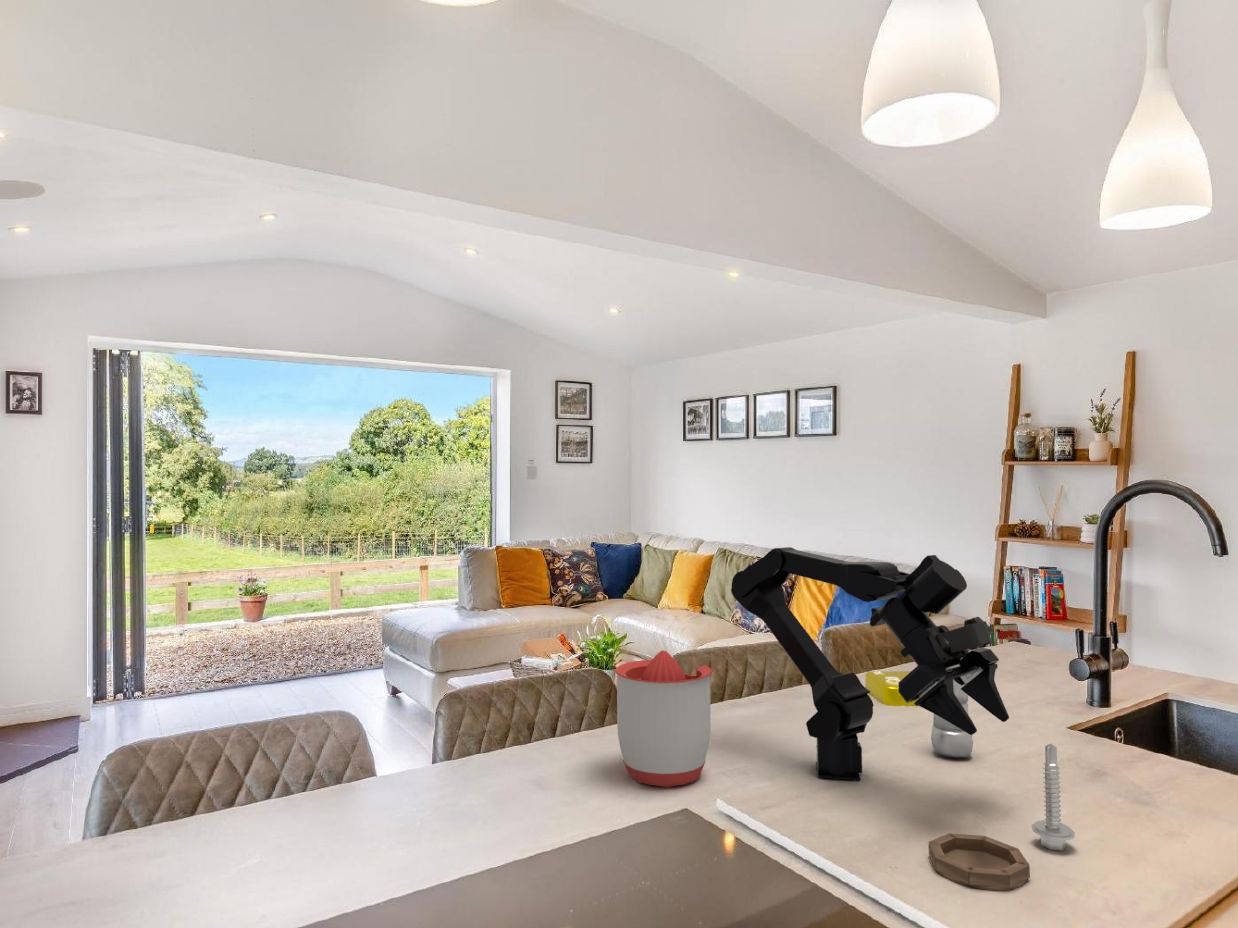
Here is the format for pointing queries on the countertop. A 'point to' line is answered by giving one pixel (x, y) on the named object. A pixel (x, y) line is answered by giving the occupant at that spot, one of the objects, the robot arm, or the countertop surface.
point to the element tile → (887, 687)
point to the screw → (1052, 807)
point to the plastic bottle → (952, 732)
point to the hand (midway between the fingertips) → (990, 726)
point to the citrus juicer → (663, 720)
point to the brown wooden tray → (979, 862)
